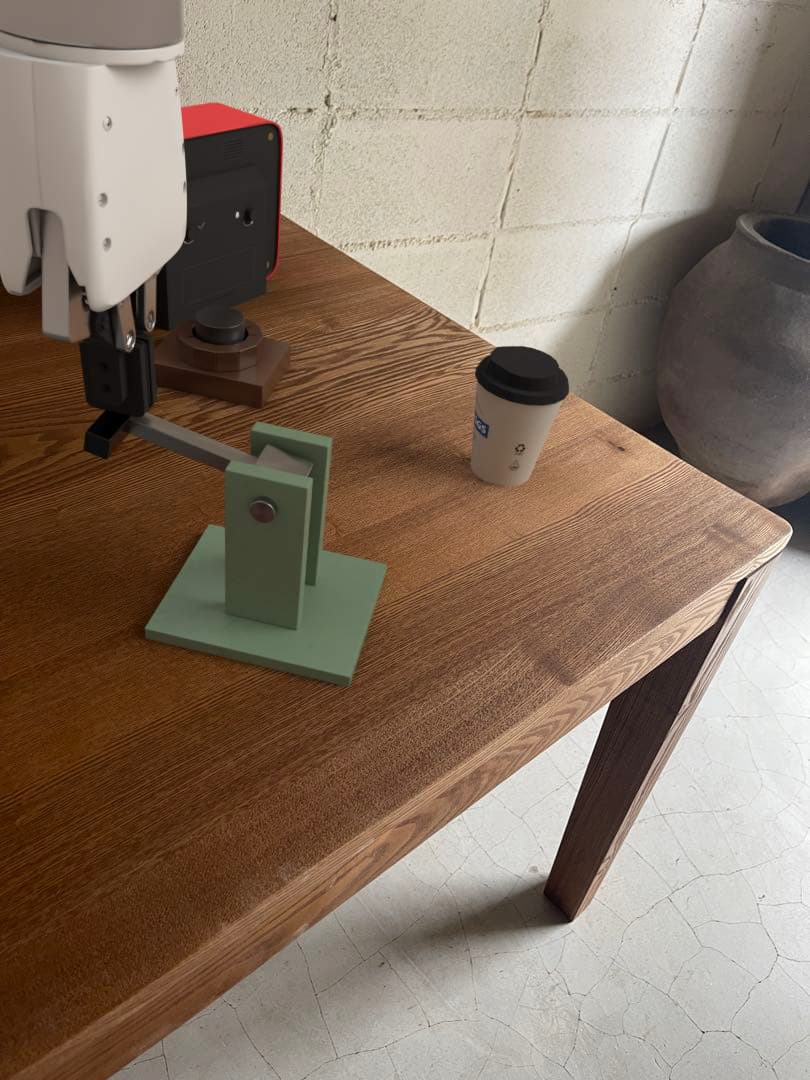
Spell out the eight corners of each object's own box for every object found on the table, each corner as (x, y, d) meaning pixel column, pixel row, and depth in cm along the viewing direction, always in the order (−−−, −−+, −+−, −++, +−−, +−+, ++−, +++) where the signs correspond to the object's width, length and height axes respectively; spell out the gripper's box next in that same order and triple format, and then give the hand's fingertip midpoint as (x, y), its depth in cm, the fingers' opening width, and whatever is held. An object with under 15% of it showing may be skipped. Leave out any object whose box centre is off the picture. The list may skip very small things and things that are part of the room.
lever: (81, 458, 44) (85, 422, 43) (131, 402, 49) (137, 367, 47) (281, 539, 45) (293, 505, 44) (312, 476, 50) (324, 444, 48)
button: (187, 341, 70) (187, 321, 69) (206, 321, 73) (205, 302, 72) (235, 351, 70) (235, 331, 69) (251, 331, 73) (251, 311, 72)
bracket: (145, 646, 49) (131, 480, 42) (209, 540, 57) (206, 384, 50) (348, 695, 49) (370, 534, 41) (384, 581, 56) (409, 429, 49)
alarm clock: (293, 286, 89) (302, 124, 79) (143, 346, 76) (131, 159, 66) (226, 256, 93) (226, 97, 83) (71, 308, 79) (49, 125, 69)
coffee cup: (549, 465, 70) (581, 354, 63) (533, 512, 64) (566, 396, 58) (466, 441, 71) (490, 330, 64) (444, 486, 65) (468, 369, 59)
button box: (145, 384, 71) (142, 340, 69) (182, 342, 77) (181, 300, 75) (261, 409, 70) (263, 366, 68) (290, 365, 77) (292, 324, 74)
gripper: (85, -32, 40) (117, 331, 51) (-131, 8, 28) (-27, 466, 40) (240, -4, 39) (238, 357, 51) (85, 49, 28) (128, 500, 39)
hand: (122, 404), depth 45 cm, fingers closed
